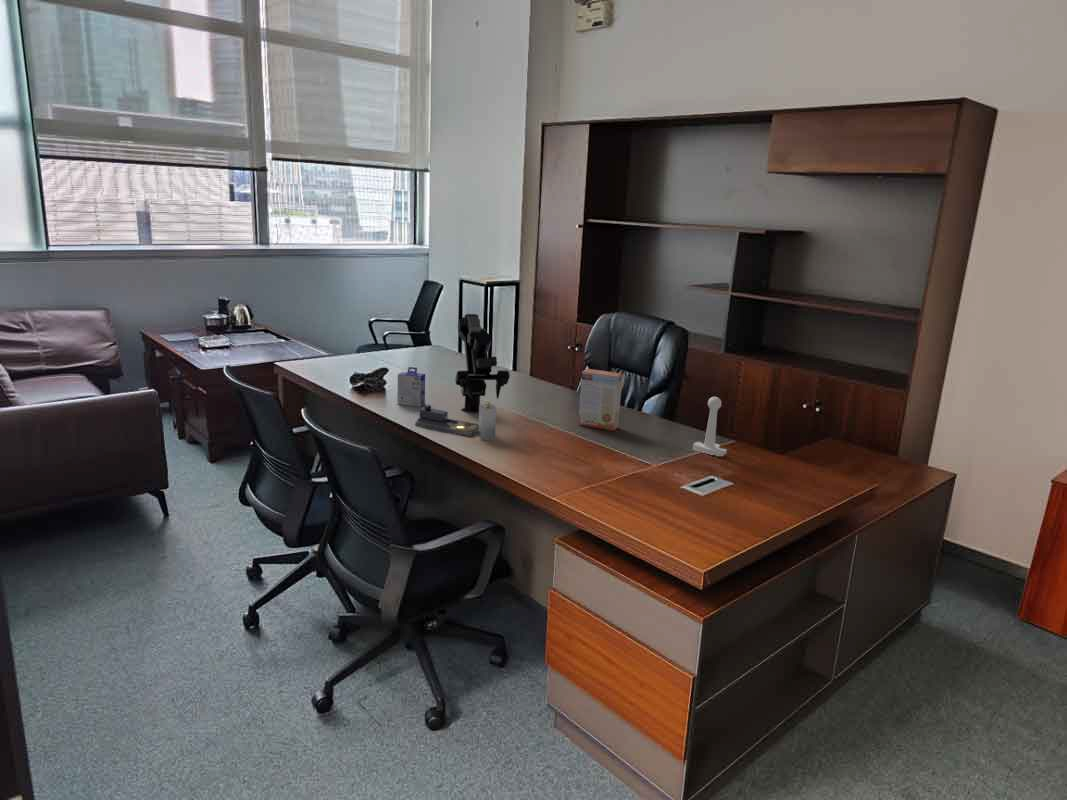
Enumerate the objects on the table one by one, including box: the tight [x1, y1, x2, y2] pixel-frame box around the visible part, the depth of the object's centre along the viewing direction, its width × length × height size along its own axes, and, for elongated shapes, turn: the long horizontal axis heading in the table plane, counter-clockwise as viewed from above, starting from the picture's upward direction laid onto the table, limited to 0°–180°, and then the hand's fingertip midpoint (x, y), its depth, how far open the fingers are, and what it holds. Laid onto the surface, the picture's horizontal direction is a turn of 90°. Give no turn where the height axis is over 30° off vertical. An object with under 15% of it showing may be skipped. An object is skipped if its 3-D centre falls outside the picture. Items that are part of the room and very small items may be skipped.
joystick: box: [692, 396, 728, 457], centre depth 250 cm, size 11×8×20 cm
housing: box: [477, 401, 497, 441], centre depth 253 cm, size 5×5×12 cm
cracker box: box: [578, 368, 623, 432], centre depth 271 cm, size 14×6×21 cm, turn 65°
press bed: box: [414, 417, 479, 438], centre depth 263 cm, size 10×22×2 cm, turn 66°
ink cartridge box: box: [397, 366, 426, 407], centre depth 288 cm, size 10×6×14 cm, turn 78°
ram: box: [419, 404, 449, 423], centre depth 264 cm, size 4×10×5 cm, turn 66°
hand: (484, 398), depth 257 cm, fingers open, 9 cm apart
